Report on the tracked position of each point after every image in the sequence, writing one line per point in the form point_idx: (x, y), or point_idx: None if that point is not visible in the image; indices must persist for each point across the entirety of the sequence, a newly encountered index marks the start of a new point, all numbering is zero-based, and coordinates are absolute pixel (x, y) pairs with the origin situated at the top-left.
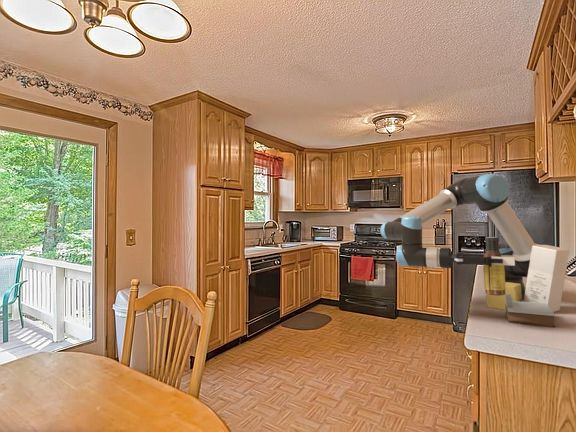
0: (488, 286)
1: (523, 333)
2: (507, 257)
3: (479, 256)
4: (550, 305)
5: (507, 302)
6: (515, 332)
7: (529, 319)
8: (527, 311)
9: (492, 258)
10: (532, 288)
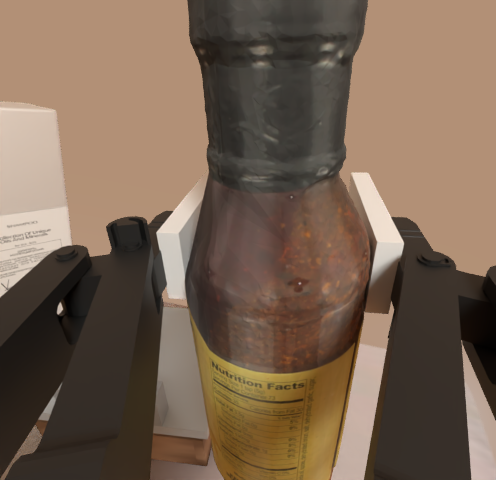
0: (327, 469)
1: (352, 444)
2: (376, 190)
3: (401, 332)
4: None
5: (159, 412)
6: (355, 472)
7: None
8: None
9: (397, 255)
10: (11, 286)
